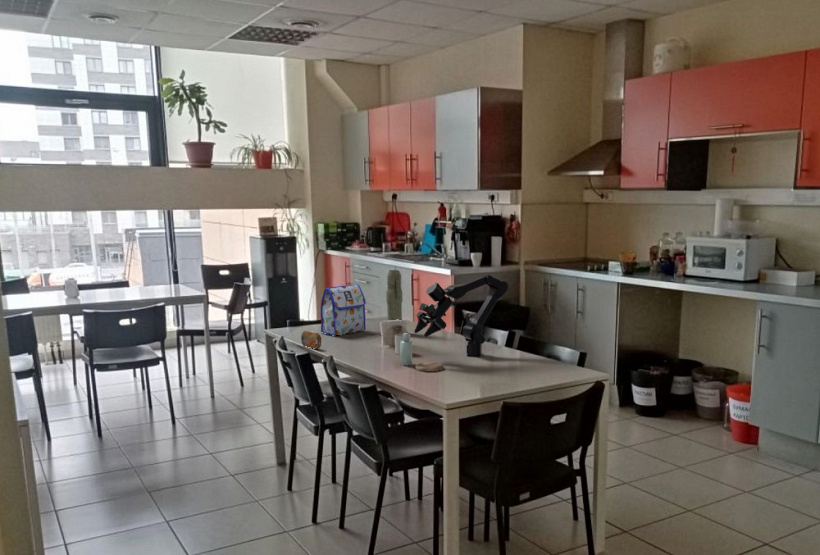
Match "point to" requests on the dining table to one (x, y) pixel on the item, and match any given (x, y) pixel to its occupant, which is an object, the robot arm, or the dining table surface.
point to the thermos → (394, 295)
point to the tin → (311, 339)
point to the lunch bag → (343, 310)
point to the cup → (398, 342)
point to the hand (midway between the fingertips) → (419, 334)
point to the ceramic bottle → (406, 350)
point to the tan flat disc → (429, 366)
